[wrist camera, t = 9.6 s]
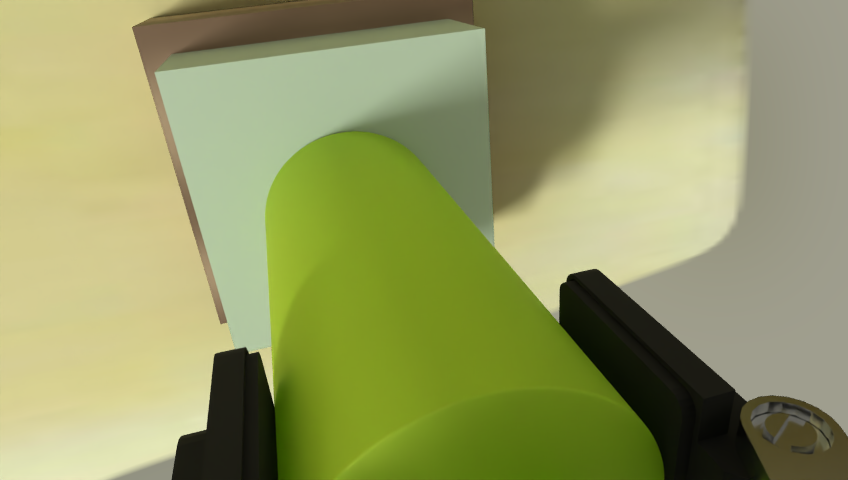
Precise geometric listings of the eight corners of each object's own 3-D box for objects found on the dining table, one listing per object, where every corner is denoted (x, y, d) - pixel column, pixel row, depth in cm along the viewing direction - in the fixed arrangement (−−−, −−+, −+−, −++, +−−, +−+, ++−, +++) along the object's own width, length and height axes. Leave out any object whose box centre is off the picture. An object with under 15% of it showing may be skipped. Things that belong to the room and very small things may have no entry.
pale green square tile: (171, 54, 20) (154, 72, 17) (448, 18, 22) (484, 28, 19) (239, 299, 25) (236, 354, 21) (464, 252, 26) (496, 295, 23)
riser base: (150, 18, 23) (132, 27, 19) (441, -16, 25) (471, -13, 22) (224, 279, 28) (220, 324, 25) (459, 232, 31) (486, 266, 27)
